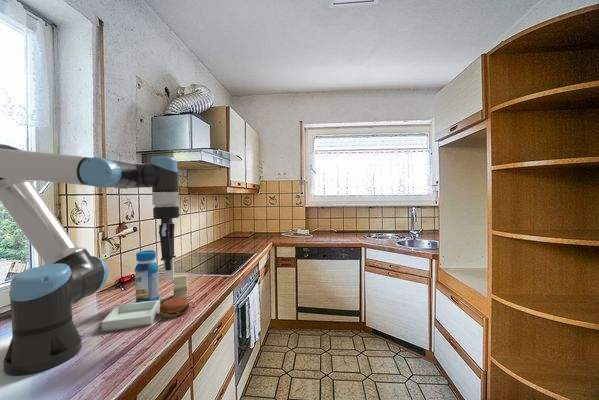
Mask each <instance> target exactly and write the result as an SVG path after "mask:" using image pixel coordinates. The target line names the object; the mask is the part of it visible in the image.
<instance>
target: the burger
mask: <svg viewBox="0 0 599 400" xmlns="http://www.w3.org/2000/svg"><path fill="white" fill-rule="evenodd" d="M190 308H191V307H190V302H189V300H188V299H187V297H186V298H184V297H181V298H174V297H173V298H170V299H166V300H165V301H163V302H162V303H160V310H159V312H158V314H159V316H160V317H162V318H164V319H169V318H175V317H178V316H181V315H183V314H185V313H186V312H188V310H189V309H190Z"/></svg>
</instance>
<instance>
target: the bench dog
mask: <svg viewBox="0 0 599 400" xmlns="http://www.w3.org/2000/svg"><path fill="white" fill-rule="evenodd" d="M172 281H173V283H172V284H173V285H172V286H173V298H181V297H184V298H186V299H187V298H188V295H189V273H188V271H187V272H178V273H176V272H174V280H172Z"/></svg>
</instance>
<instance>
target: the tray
mask: <svg viewBox="0 0 599 400" xmlns="http://www.w3.org/2000/svg"><path fill="white" fill-rule="evenodd" d="M160 305H161V299H159V300H155V301H147V302H138V303H136V302H132V303H131V302H130V303H122V304H117V305H116V306H115V307H113V309H112V310H111V311H110V312H109V313H108V314H107V316H105V318H104V319H103V320H102V321H101V332H102V333H104V332H109V331H110V332H111V331H119V330H124V329H132V328H140V327H146V326H147V327H148V326H152V325H153V323H154V321H155V319H156V317H157V315H158V314H159V312H160Z"/></svg>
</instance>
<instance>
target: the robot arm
mask: <svg viewBox="0 0 599 400" xmlns="http://www.w3.org/2000/svg"><path fill="white" fill-rule="evenodd" d="M35 181H36V182H44V183H46V182H47V183H56V184H66V185H67V184H69V185H80V186H88V187H90V186H91V187H95V188H103V189H104V188H114V189H120V190H121V189H125V190H126V189H142V188H143V189H144V188H147V189H148V188H151V189H152V190H151V191H152V193H151V195H152V200H151V201H152V206H153V207H152V215H153V219H155V220H160V224H159V225H158V226H159V227H158V229H159V231H158V235H159V240H160V241H159V243H160V250H161V251H160V252H161V258H160V261H163V278H164V279H163V281H173V280H174V275H175V266H174V265H175V261H174V259H175V258H177V255H175V226H176V225H175V223H173V219H177V218H179V217H180V206H178V205H179V203H180V201H179V200H180V199H181V197H182V196H181V195H180V194H179V171H178V161H177V159H176V158H174V156H165V155H163V156H160V155H158V156H152V157H151V158H150V163H129V162H126V161H125V162H124V161H118V160H113V159H110V158H108V157H107V158H106V157H99V156H98V157H97V156H96V157H95V156H94V157H93V156H92V157H87V156H82V155H81V156H79V155H69V154H61V153H59V154H57V153H50V152H40V151H28V150H22V149H20V148H18V147H15V146H11V145H8V144H0V203H1V204H2V205H3V207H4V208H5V209H6V211H7V212H8V214H9V215H10V216H11V218H12V220H13V221H14V222H15V223H16V225H17V226H18V227H19V230H21V232H22V233H23V234H24V236H25V238H27V241H29V243H30V244H31V246H32V247H33V249H34V250H35V251H36V253H37V254H38V255H39V257H40V258H41V259H42V261H43V262H44V264H43V265H40V266H38V267H37V266H36V267H32V268H28V269H26V270H23V271H21V272H19V273H18V274H16V275H15V276H14V277H12V279H11V281H10V288H9V289H10V290H9V295H8V296H9V300H10V317H11V329H12V331H11V332H12V334H11V335H12V337H11V340H10V342H9V345H8V348H7V351H6V354H5V356H4V359H3V363H2V364H3V373H5V374H6V375H8V376H9V375H10V376H24V375H29V374H34V373H38V372H41V371H44V370H45V371H46V370H48V369H51V368H54V367H56V366H58V365H61V364H62V363H64V362H67V361H68V360H70V359H72V358H73V357H74V356H77V354H78V353H79V352H81V350H82V346H83V344H82V343H83V342H82V337H81V334H80V333H79V331H78V329H77V327H76V325H75V322H74V321H73V305H74V304H76V303H78V302H79V301H82V300H83V299H85V298H87V297H89V296H92V295H93V294H94V293H96V292H98V290H100V289H101V288H102V287H104V285H105V284H106V282H107V280H108V276H109V267H108V265H107V263H106V262H105V261H104V259H102V258H100V257H98V256H94V255H91V254H90V253H89V251H88V249H86V248H85V247H79V246H77V244H76V243H75V241H73V239H72V237H71V236H70V234H68V233H69V232H67V230H66V229H65V228H64V226H63V224H61V221H60V220H59V219H58V218H57V216H56V215H55V213H54V212H53V210H52V209H51V208H50V206H49V205H48V204H47V202H46V201H45V199H44V198H43V197H42V195H41V193H40V192H39V191H38V190H37V188H36V186H35V185H34V183H35Z"/></svg>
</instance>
